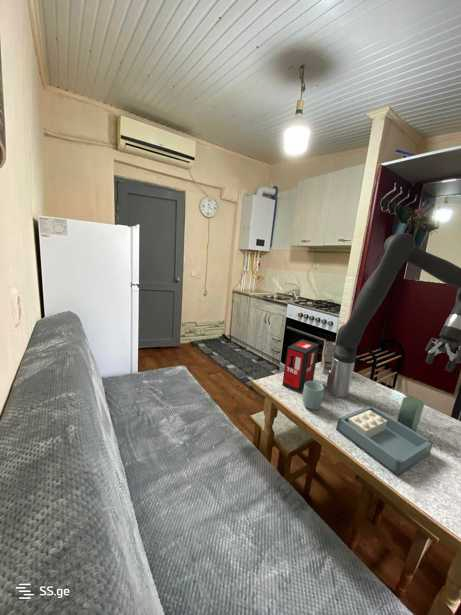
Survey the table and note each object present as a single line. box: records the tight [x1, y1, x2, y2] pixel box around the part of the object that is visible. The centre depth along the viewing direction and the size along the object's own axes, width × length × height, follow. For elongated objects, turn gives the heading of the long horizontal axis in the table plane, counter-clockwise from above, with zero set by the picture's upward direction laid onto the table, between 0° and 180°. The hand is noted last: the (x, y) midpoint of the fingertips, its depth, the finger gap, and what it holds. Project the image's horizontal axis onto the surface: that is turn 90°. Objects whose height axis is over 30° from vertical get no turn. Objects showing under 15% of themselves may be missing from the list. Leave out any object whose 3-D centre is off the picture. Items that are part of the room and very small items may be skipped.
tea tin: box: [396, 394, 425, 433], centre depth 96 cm, size 5×5×13 cm
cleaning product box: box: [281, 339, 320, 394], centre depth 124 cm, size 16×9×20 cm, turn 141°
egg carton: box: [348, 410, 387, 438], centre depth 94 cm, size 7×13×5 cm, turn 119°
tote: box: [335, 405, 434, 477], centre depth 90 cm, size 22×20×5 cm
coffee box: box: [320, 340, 336, 375], centre depth 141 cm, size 9×6×16 cm
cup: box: [302, 380, 325, 411], centre depth 107 cm, size 8×8×10 cm
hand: (437, 367), depth 98 cm, fingers open, 8 cm apart
